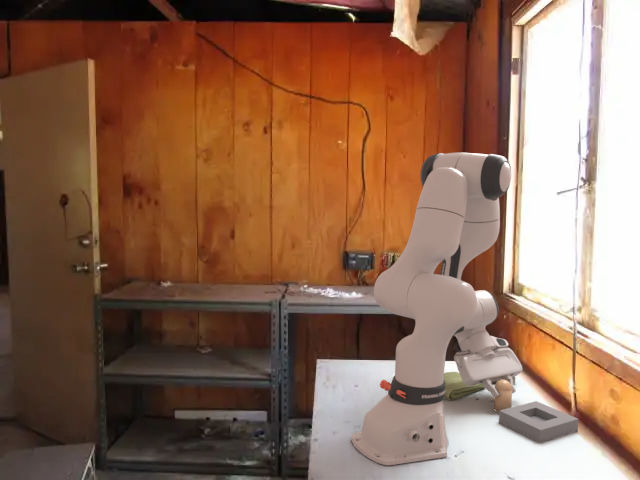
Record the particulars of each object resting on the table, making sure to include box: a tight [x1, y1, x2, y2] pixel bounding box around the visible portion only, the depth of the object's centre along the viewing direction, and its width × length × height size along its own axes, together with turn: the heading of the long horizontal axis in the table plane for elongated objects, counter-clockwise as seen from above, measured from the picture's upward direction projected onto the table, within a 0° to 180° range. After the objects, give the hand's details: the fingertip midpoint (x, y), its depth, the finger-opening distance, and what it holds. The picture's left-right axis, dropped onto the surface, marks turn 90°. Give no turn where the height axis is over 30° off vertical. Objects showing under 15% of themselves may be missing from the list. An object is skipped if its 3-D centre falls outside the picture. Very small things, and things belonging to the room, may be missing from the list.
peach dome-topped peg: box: [493, 380, 513, 412], centre depth 132 cm, size 4×4×8 cm
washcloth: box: [444, 371, 485, 401], centre depth 147 cm, size 13×18×3 cm
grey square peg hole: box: [498, 400, 579, 443], centre depth 123 cm, size 14×12×3 cm
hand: (505, 394), depth 132 cm, fingers closed on peach dome-topped peg, 4 cm apart
